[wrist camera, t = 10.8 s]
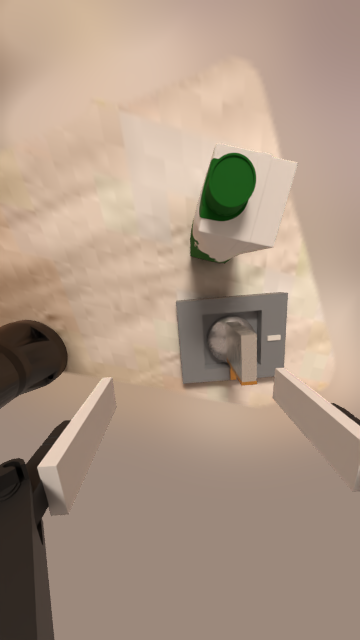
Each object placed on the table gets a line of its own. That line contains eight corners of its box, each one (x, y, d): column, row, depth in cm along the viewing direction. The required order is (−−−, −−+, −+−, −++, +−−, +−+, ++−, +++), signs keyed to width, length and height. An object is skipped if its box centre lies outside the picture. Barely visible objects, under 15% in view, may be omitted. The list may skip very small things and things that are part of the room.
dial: (205, 317, 36) (216, 331, 26) (252, 313, 36) (281, 325, 26) (208, 361, 39) (219, 389, 28) (252, 357, 38) (279, 384, 28)
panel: (182, 377, 40) (183, 384, 37) (176, 300, 36) (176, 302, 33) (276, 370, 40) (284, 376, 37) (280, 292, 36) (288, 293, 33)
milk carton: (194, 212, 33) (217, 108, 13) (239, 222, 33) (328, 136, 14) (185, 260, 34) (193, 231, 15) (228, 269, 35) (291, 252, 15)
